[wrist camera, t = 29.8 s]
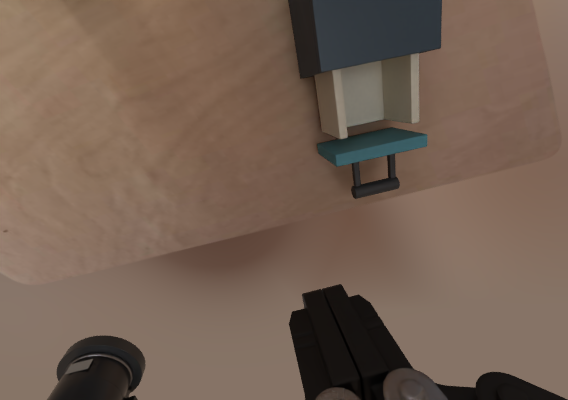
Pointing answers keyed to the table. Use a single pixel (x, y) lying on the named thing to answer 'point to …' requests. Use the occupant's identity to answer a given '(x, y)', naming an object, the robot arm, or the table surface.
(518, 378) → the robot arm
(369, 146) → the drawer
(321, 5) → the dark grey drawer cabinet
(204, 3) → the table surface
